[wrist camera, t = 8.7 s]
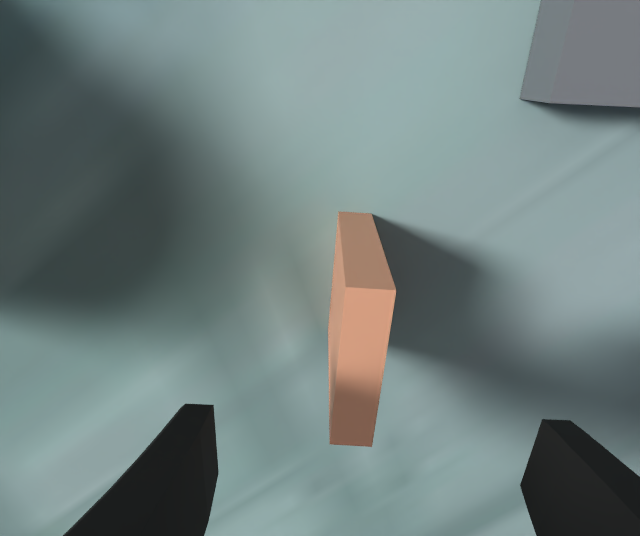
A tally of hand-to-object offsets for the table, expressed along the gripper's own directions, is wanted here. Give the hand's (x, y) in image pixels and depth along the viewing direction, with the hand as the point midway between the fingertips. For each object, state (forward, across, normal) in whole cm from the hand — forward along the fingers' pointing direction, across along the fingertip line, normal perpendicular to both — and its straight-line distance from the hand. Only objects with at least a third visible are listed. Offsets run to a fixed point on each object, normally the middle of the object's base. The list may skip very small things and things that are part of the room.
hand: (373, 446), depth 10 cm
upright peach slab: (+8, 0, 0) cm, 8 cm away
